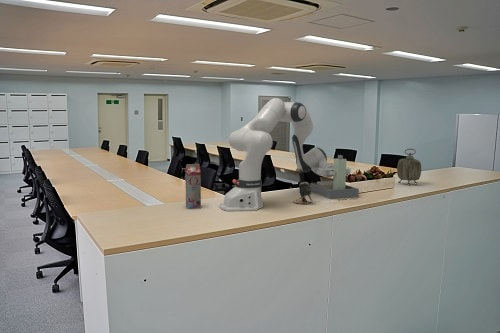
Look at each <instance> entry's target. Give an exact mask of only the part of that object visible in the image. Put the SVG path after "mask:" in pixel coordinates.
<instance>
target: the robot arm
mask: <svg viewBox="0 0 500 333" xmlns="http://www.w3.org/2000/svg"><path fill="white" fill-rule="evenodd" d="M279 122H282V123H283V122H284V123H291V124H292V126H293V127H292V128H293V134H292V137H291V140H292V146H293V151H294V155H295V164H296V168H297V167H300V168H301V169H302V171H301V173H309V172H310V171H312V172H313V173H314V174H316V175H317V176H322V177H325V178H332V177H333V175H337V174H336V173H337V172H335V171H334V162H328V156H327V153H326V152H325V150H324V149H322V148H320V147H318V146H315V147H313V148H311V149H310V150H309V151H307V152H305V153H304V149H303V146H304V143H305V141H306V140H307V139H308V137H309V136H310V135H311V134H312V132H313V129H314V123H313V120H312V117H311V114H310V113H309V111H308V109H307V108H306V106H305V105H304V104H303V103H302V102H297V101H295V102H293V101H283V100H282V99H281V98H278V97H274V98H271V99H270V100H269V101H268V102H266V103H265V104H264V105H263V107H262V108H261V109H260V110H259V112H257V114H256V115H255V117H253V118H252V119H251V120H250V121H249V122H248V123H246V124H245V125H243V126H242V127H241V128H239V129H237V130H234V131H233V132H231V133H230V135H229V138H228V143H229V146H230V147H231V149H233V150H236V151H239V152H246V155H245V157H244V159H243V160H242V161H240V163H239V165H238V179H232V183H233V184H234V187H233V188H232V189H230V190H229V191H228V192H226V193H225V195H224V199H223V202H222V203H219V208H220V209H221V210H222V211H227V212H235V211H236V212H237V211H238V212H242V211H249V212H250V211H258V210H259V209H262V208H263V207H264V204H263V198H262V187H263V186H262V179H261V176H262V175H261V174H262V173H261V172H262V164H263V161H264V158H265V156H266V154H267V153H269V152H270V150H271V149H272V146H273V143H274V142H273V138H272V135H271V134H270V133H271V132H272V131H273V129H274V128H275V127H276V125H277V124H278V123H279ZM351 171H352V170H351V168H350V167H347V166H346V176H347V175H351Z"/></svg>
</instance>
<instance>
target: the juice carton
mask: <svg viewBox="0 0 500 333" xmlns="http://www.w3.org/2000/svg"><path fill="white" fill-rule="evenodd" d="M200 166H201V165H200V163H192V164H190V163H189V164H188V163H187V164H186V165H185V208H186V209H187V210H195V209H196V210H199V209H200V210H201V209H202V193H201V192H202V189H201V188H202V187H201V186H202V184H201V181H202V178H201V176H202V175H201V173H202V171H201V167H200Z"/></svg>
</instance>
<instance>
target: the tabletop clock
mask: <svg viewBox="0 0 500 333" xmlns="http://www.w3.org/2000/svg"><path fill="white" fill-rule="evenodd" d="M410 150H411V151H413V152H414V153H411V152H409V153H407V152H406V151H410ZM404 154H405V155H407V156H406V157H405V158H401V159H399V160H398V161H397V166H396V173H397V177H398V178H399V179H400V180H398V182H397V183H398V184H399V183H400V184H401V181H407V182H408V183H407V185H408V184H410V181H414V184H415V183H417V184H418V182H417V181H418V180H419V179H420V178H421V175H422V163H421V161H420V160H418V159H415V157H414V156H413V155H415V154H416V149H414V148H407V149H405V150H404ZM410 185H411V184H410Z"/></svg>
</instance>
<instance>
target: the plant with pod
mask: <svg viewBox="0 0 500 333" xmlns="http://www.w3.org/2000/svg"><path fill="white" fill-rule="evenodd" d="M301 171H302V169H301V168H300V167H297V166H296V169H295V174H298V176H299V178H301V174H302V172H301ZM298 190H299V196H300V197H298V198H297V199H296V200H293V201H292V203H295V204H296V203H297V204H301V205H302V204H303V205H309V204H308V203H310V204H311V202H313V199H312V198H311V194H312V192H311V187H310V183H309V182H307V181H303V182H301V179H299V184H298ZM306 196H308V198H309V199H310V201H311V202H310V201H309V200H307V199H306Z"/></svg>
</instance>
